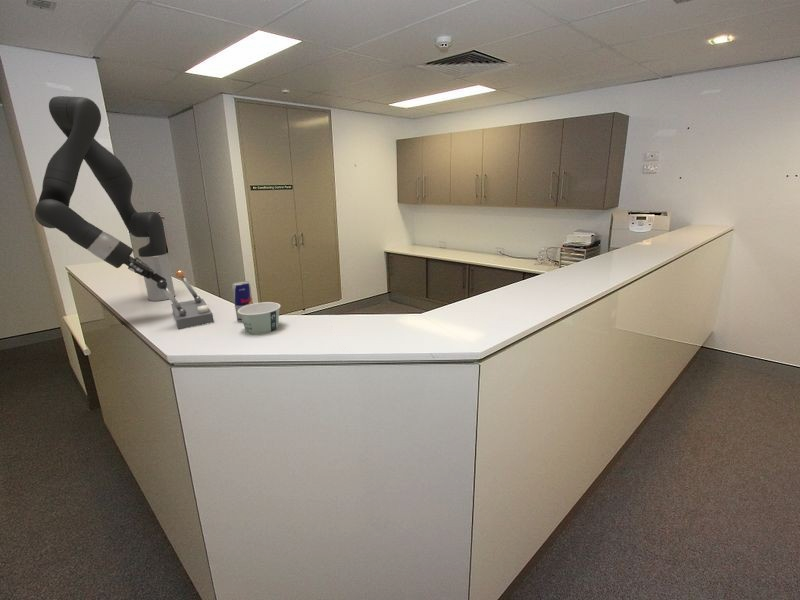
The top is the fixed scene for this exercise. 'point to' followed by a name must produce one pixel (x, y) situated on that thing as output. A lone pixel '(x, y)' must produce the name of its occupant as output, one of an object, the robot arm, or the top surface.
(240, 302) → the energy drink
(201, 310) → the push button
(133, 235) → the robot arm
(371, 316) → the top surface
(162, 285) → the black knob lever
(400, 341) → the top surface
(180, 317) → the control panel
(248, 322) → the food container
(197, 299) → the orange knob lever
